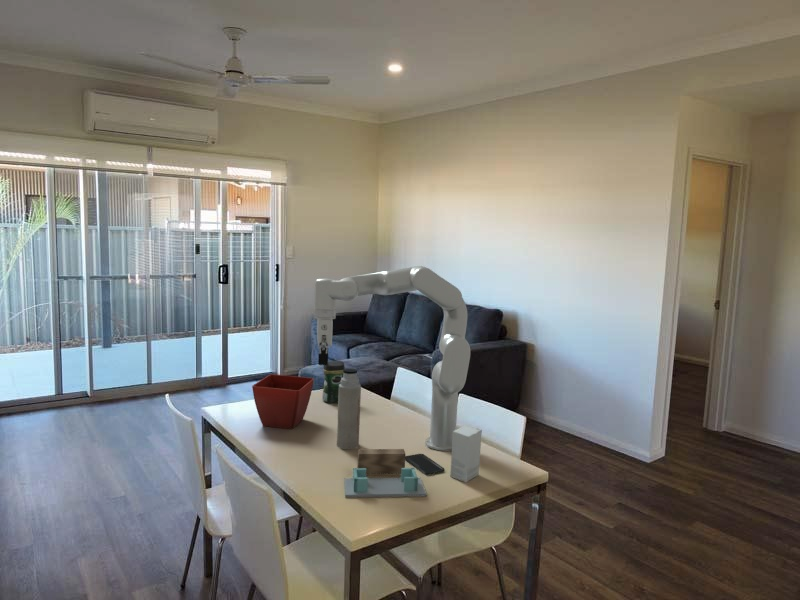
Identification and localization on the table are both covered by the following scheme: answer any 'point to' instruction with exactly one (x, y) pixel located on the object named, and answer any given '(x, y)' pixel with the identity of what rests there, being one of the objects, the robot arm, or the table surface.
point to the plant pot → (282, 399)
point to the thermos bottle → (349, 410)
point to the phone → (424, 464)
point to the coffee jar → (332, 380)
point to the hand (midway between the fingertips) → (323, 361)
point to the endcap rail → (384, 485)
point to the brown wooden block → (381, 460)
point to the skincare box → (465, 453)
